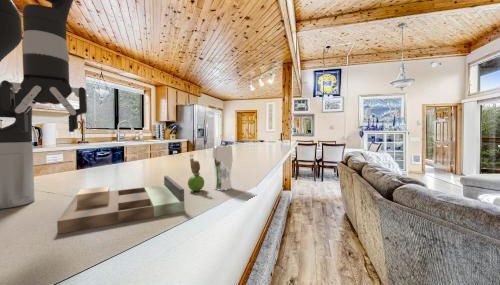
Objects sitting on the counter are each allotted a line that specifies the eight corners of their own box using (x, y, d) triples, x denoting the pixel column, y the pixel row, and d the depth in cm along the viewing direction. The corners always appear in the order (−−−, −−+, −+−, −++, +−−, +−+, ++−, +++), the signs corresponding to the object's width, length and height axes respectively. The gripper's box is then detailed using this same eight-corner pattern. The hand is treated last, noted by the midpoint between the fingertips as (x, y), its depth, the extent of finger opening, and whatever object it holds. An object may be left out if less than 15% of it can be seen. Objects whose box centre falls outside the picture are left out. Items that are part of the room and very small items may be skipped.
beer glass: (214, 191, 73) (213, 146, 73) (212, 186, 80) (211, 145, 80) (234, 190, 75) (234, 146, 75) (230, 185, 82) (230, 145, 81)
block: (77, 207, 50) (76, 194, 50) (81, 201, 55) (80, 189, 55) (108, 203, 53) (108, 191, 53) (109, 197, 58) (109, 186, 58)
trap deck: (57, 234, 42) (56, 205, 42) (76, 204, 61) (75, 184, 61) (184, 211, 54) (184, 189, 54) (167, 192, 73) (167, 175, 73)
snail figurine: (198, 187, 79) (198, 154, 79) (207, 191, 74) (206, 155, 74) (184, 190, 75) (183, 155, 75) (192, 193, 71) (191, 156, 70)
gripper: (-9, 45, 42) (-5, 131, 42) (84, 58, 49) (86, 131, 50) (8, 57, 48) (11, 131, 49) (88, 67, 56) (90, 132, 56)
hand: (49, 131), depth 49 cm, fingers open, 7 cm apart
